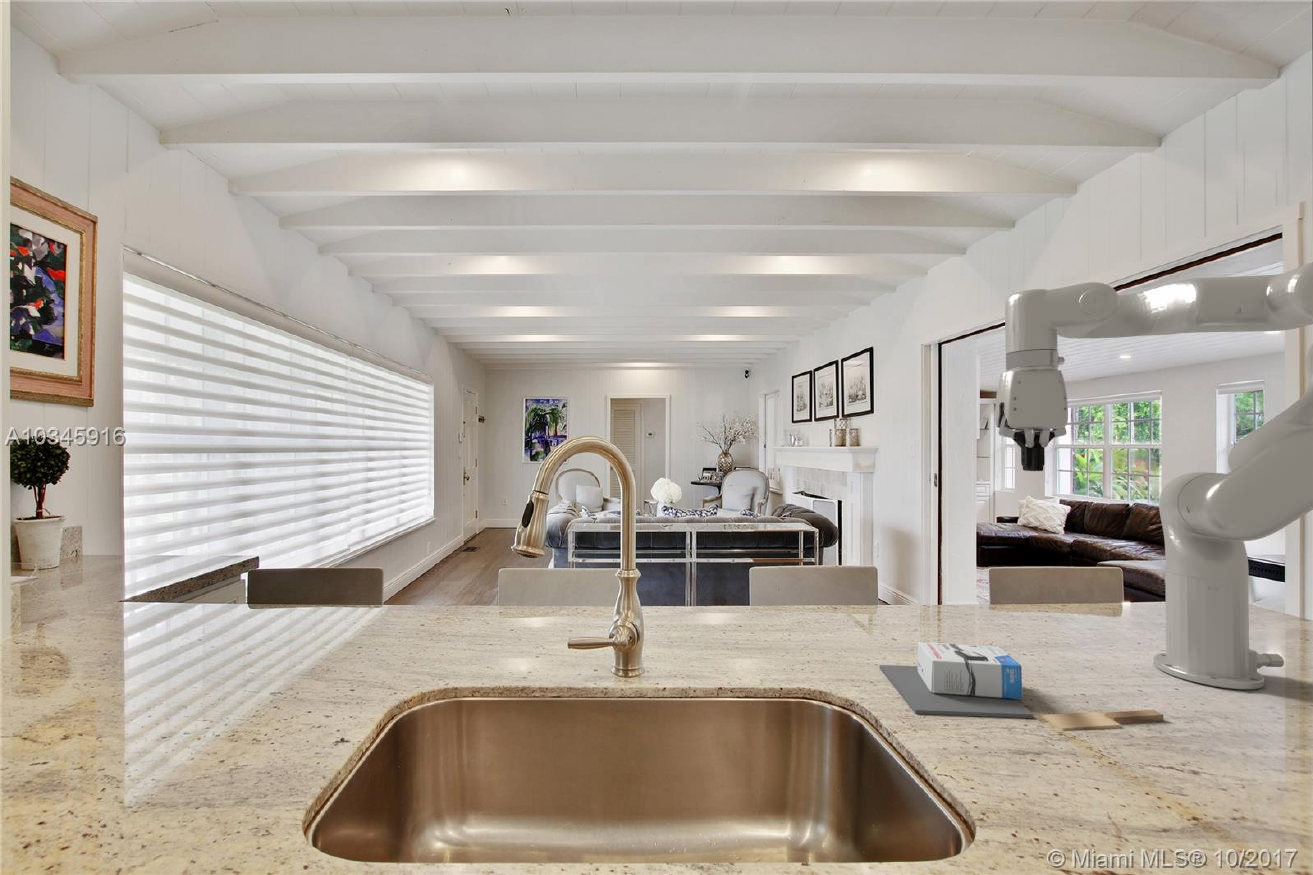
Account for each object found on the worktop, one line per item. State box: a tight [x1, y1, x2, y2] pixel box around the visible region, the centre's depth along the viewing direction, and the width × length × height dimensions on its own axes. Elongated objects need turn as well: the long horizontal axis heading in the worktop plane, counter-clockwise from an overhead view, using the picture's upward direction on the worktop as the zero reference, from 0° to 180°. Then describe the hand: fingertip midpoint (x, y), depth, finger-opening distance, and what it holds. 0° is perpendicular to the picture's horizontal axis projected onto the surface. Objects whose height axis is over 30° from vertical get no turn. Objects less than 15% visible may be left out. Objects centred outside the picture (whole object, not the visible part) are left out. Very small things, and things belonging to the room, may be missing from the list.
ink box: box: [916, 641, 1023, 700], centre depth 86 cm, size 8×5×12 cm
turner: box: [1041, 709, 1164, 731], centre depth 76 cm, size 15×4×1 cm, turn 95°
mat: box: [879, 664, 1034, 719], centre depth 85 cm, size 15×16×1 cm
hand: (1032, 470), depth 100 cm, fingers closed
